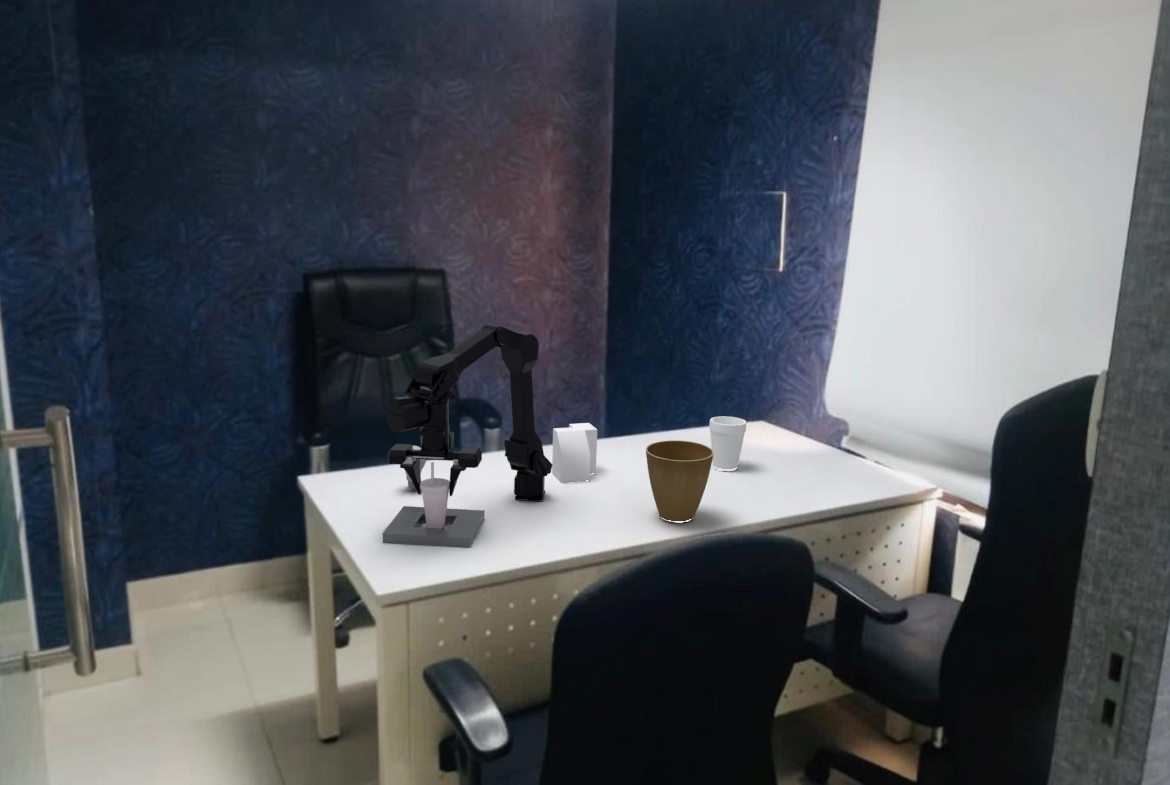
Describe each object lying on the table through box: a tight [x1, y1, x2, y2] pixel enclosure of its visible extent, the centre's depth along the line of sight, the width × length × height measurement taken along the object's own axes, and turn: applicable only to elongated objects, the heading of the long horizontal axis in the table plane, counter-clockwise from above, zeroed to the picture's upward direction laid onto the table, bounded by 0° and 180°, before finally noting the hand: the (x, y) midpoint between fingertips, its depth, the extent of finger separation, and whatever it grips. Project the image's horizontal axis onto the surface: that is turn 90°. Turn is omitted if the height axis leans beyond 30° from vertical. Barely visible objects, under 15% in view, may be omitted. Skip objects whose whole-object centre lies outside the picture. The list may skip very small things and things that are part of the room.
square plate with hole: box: [382, 505, 486, 548], centre depth 189 cm, size 18×16×2 cm
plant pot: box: [645, 439, 714, 521], centre depth 199 cm, size 15×15×16 cm
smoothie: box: [420, 462, 450, 529], centre depth 188 cm, size 6×6×14 cm
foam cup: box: [708, 415, 747, 469], centre depth 237 cm, size 10×9×13 cm
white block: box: [551, 422, 598, 484], centre depth 228 cm, size 11×11×12 cm
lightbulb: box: [403, 445, 427, 491], centre depth 213 cm, size 6×6×11 cm
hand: (435, 494), depth 188 cm, fingers closed on smoothie, 6 cm apart
